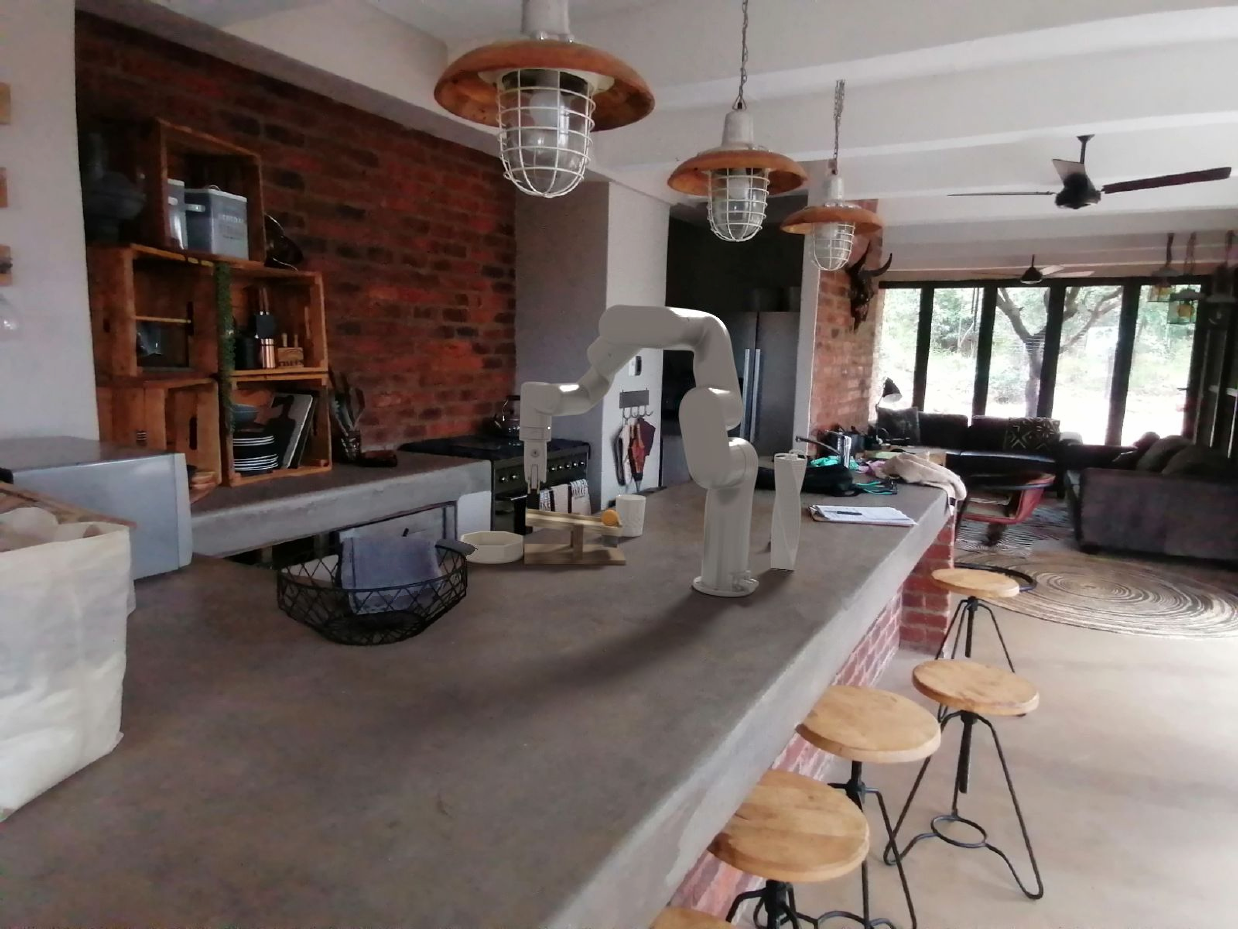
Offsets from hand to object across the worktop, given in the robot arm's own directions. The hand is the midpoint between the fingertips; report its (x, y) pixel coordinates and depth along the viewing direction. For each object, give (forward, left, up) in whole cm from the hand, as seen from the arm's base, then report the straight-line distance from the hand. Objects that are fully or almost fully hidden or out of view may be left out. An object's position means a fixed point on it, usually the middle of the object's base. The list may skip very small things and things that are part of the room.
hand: (533, 509), depth 191 cm
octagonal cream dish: (-2, +12, -9) cm, 15 cm away
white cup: (0, -30, -10) cm, 31 cm away
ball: (-16, -11, 0) cm, 20 cm away
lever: (-9, -5, -5) cm, 11 cm away
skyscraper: (-43, -42, -10) cm, 61 cm away
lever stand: (-12, -5, -9) cm, 16 cm away
